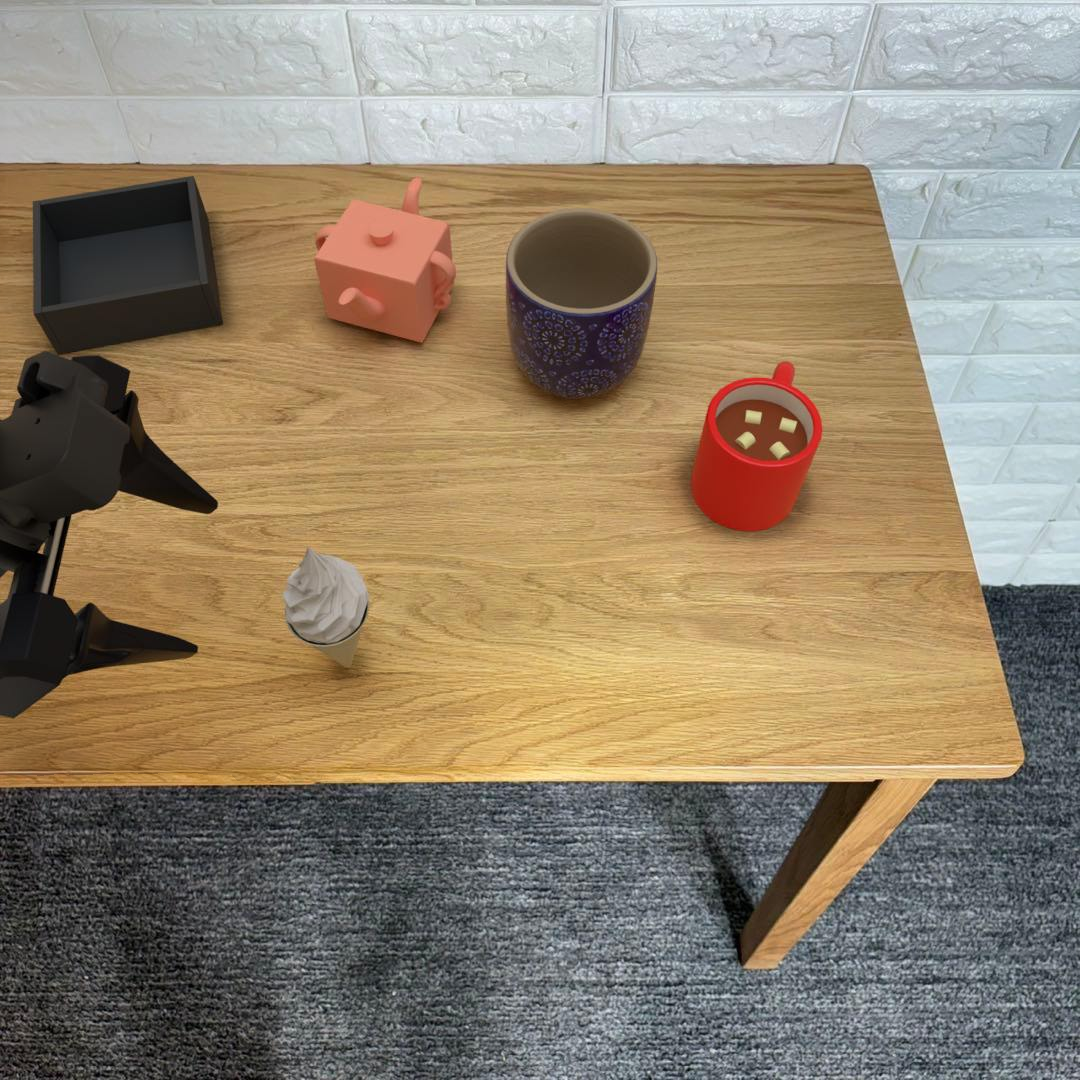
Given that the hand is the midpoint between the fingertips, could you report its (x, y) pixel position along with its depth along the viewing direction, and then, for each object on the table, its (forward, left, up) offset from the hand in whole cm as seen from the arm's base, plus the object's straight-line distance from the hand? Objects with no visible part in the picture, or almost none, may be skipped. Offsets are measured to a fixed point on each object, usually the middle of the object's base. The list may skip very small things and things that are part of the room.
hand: (204, 577), depth 56 cm
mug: (+38, +7, -12) cm, 41 cm away
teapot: (+15, +30, -12) cm, 36 cm away
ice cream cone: (+6, -1, -12) cm, 14 cm away
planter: (+28, +20, -12) cm, 37 cm away
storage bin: (-6, +38, -12) cm, 41 cm away
